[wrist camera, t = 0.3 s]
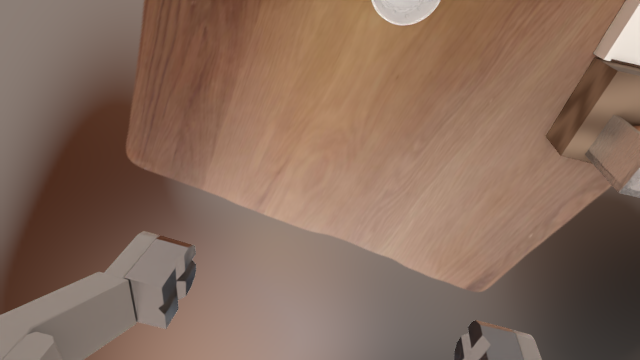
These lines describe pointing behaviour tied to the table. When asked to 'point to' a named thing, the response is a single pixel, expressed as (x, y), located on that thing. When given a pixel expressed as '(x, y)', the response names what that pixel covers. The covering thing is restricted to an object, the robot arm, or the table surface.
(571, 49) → the table surface
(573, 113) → the step block
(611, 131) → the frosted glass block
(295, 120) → the table surface
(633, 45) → the tray
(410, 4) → the white cup
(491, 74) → the table surface
